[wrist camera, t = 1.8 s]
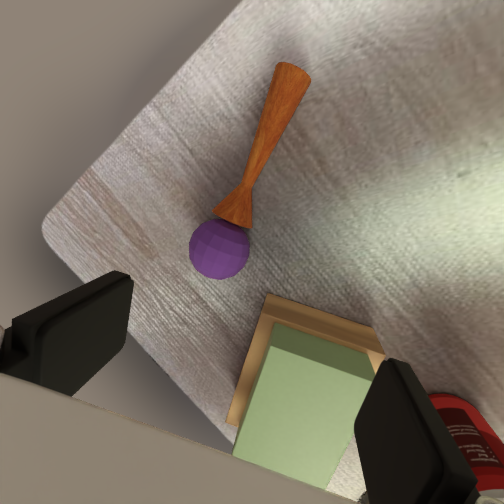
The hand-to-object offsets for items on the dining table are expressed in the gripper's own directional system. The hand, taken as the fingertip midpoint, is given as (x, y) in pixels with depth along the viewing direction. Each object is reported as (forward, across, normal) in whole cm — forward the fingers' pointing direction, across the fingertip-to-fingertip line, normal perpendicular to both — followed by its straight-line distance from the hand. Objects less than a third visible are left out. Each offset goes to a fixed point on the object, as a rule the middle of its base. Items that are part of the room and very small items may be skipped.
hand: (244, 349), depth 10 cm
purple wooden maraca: (+21, +4, -5) cm, 22 cm away
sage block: (+16, -6, +14) cm, 22 cm away
